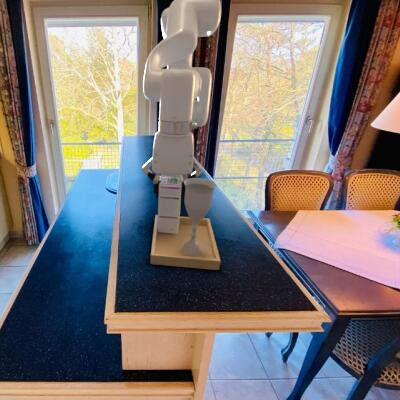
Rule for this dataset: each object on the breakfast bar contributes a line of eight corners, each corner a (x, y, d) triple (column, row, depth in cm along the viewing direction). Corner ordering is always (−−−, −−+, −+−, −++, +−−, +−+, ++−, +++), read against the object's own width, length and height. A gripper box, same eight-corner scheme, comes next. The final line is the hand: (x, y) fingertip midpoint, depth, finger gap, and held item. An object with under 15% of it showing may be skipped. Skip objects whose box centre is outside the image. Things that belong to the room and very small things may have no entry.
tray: (155, 222, 80) (155, 214, 79) (208, 226, 78) (209, 218, 76) (150, 264, 62) (150, 255, 61) (218, 270, 60) (220, 261, 59)
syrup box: (178, 234, 71) (183, 185, 65) (156, 232, 72) (159, 183, 66) (178, 224, 76) (183, 177, 70) (158, 222, 77) (161, 175, 71)
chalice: (172, 245, 68) (177, 180, 60) (194, 240, 70) (202, 176, 62) (188, 262, 62) (196, 192, 54) (212, 255, 64) (223, 187, 56)
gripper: (210, 125, 65) (201, 192, 72) (140, 124, 67) (139, 189, 75) (214, 131, 58) (204, 205, 66) (136, 129, 60) (136, 200, 68)
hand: (170, 196), depth 70 cm, fingers closed on syrup box, 5 cm apart
